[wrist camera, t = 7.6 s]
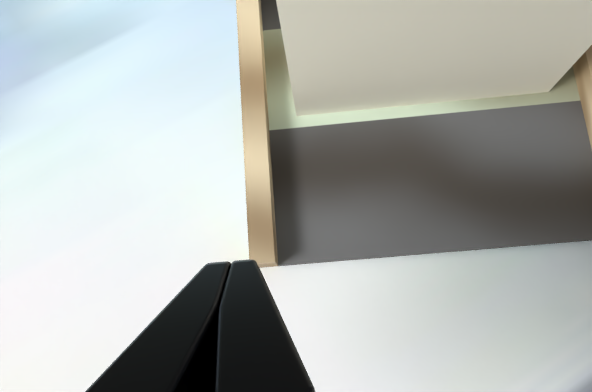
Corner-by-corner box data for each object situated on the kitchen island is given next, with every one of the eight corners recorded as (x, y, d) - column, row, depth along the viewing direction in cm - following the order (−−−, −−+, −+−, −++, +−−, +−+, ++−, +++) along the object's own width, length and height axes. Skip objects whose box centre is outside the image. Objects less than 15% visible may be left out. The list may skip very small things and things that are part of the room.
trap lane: (634, 236, 21) (655, 230, 19) (254, 268, 22) (249, 263, 20) (564, -56, 24) (577, -79, 23) (239, -20, 25) (234, -40, 24)
